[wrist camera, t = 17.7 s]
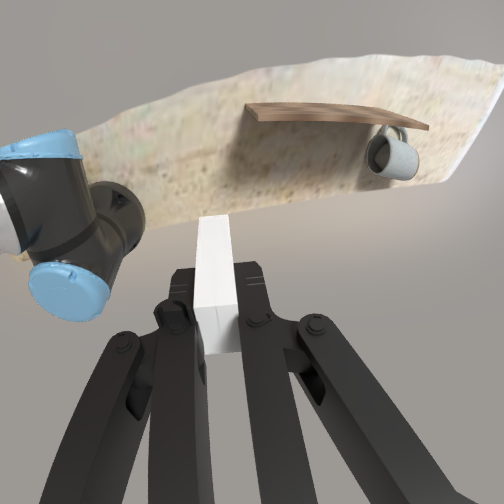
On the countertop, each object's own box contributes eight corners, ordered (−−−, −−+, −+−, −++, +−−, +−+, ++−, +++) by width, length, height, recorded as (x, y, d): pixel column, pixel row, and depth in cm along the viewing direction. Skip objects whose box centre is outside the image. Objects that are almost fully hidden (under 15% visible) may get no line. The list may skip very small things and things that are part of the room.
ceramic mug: (394, 174, 52) (416, 189, 45) (361, 166, 50) (381, 180, 44) (408, 126, 46) (432, 135, 40) (375, 114, 45) (398, 121, 38)
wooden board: (245, 110, 43) (258, 123, 30) (245, 103, 42) (258, 114, 30) (378, 113, 44) (428, 132, 32) (378, 108, 44) (429, 125, 32)
